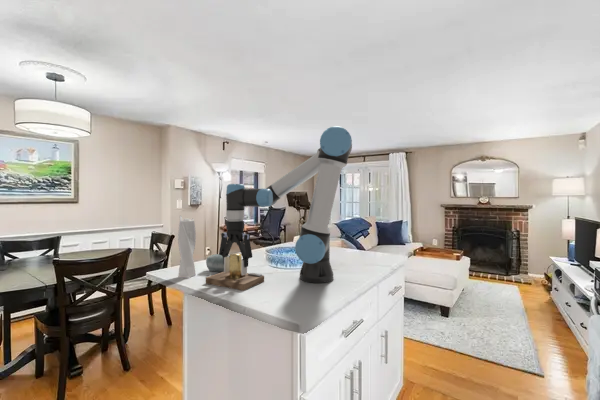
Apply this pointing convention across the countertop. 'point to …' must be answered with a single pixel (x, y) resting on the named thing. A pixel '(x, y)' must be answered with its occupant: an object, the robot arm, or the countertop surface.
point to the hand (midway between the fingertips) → (235, 273)
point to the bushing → (235, 265)
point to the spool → (215, 263)
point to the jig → (235, 280)
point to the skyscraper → (186, 247)
